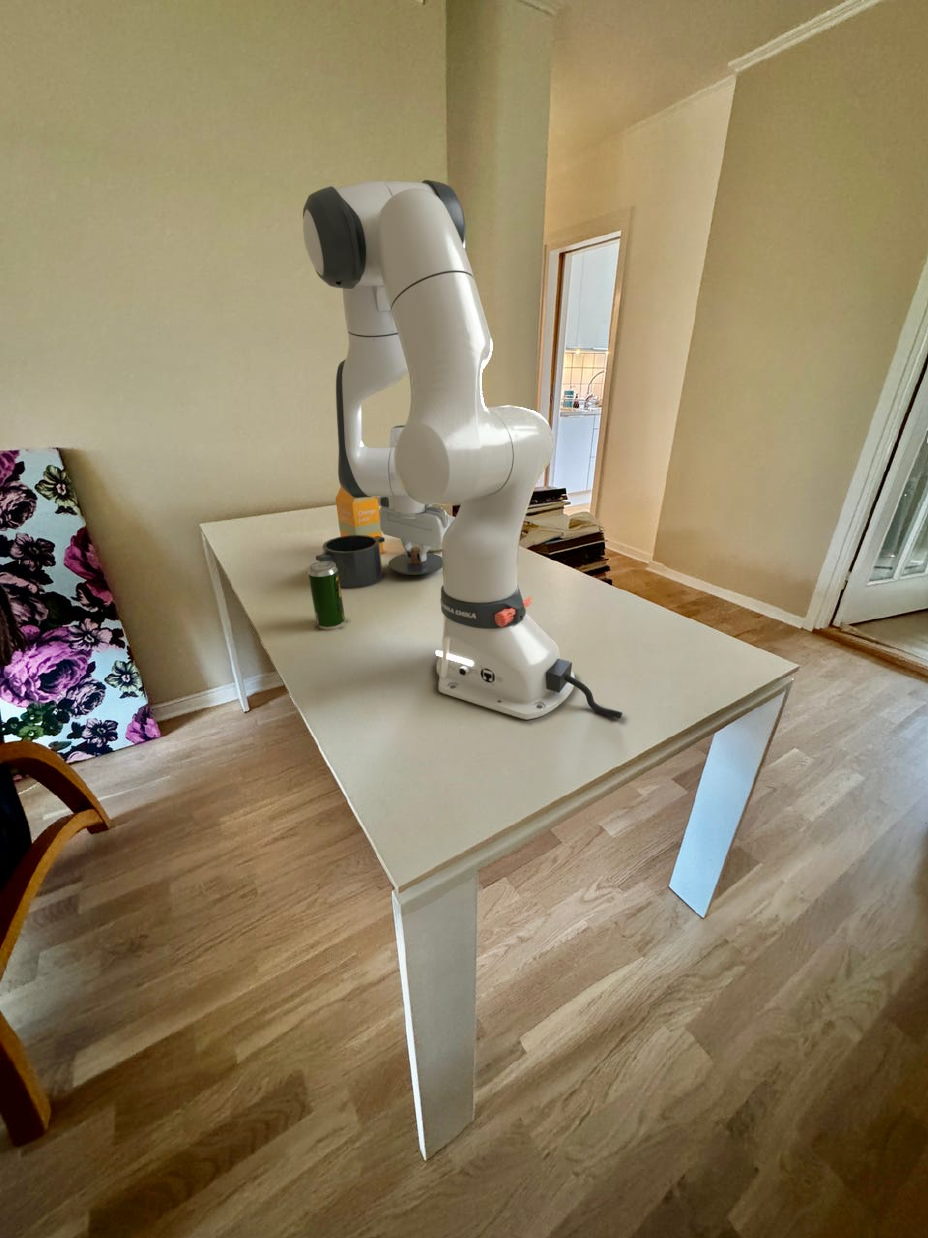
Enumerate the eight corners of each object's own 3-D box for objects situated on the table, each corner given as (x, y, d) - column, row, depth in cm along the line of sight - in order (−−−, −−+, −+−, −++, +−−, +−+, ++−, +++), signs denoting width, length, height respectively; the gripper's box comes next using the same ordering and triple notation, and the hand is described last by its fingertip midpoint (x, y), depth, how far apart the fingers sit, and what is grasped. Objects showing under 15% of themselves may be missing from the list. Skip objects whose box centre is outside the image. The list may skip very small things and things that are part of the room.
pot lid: (456, 564, 117) (455, 546, 115) (417, 581, 108) (415, 562, 106) (416, 553, 125) (415, 535, 123) (376, 568, 116) (374, 550, 113)
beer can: (322, 633, 90) (312, 573, 84) (313, 622, 94) (303, 564, 88) (349, 625, 92) (341, 567, 87) (339, 615, 96) (331, 558, 91)
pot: (401, 572, 116) (398, 538, 113) (341, 597, 104) (335, 560, 100) (367, 561, 124) (364, 529, 120) (307, 583, 111) (301, 548, 108)
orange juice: (358, 559, 125) (349, 481, 116) (342, 551, 131) (331, 476, 122) (384, 552, 130) (376, 476, 120) (367, 544, 135) (358, 472, 126)
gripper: (456, 505, 105) (457, 564, 112) (392, 492, 117) (396, 546, 123) (437, 511, 101) (439, 572, 107) (372, 497, 113) (378, 553, 119)
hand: (416, 558), depth 115 cm, fingers closed on pot lid, 2 cm apart
